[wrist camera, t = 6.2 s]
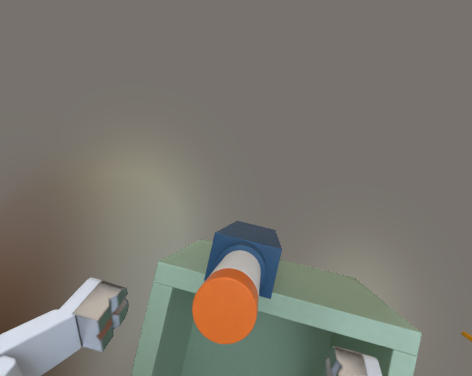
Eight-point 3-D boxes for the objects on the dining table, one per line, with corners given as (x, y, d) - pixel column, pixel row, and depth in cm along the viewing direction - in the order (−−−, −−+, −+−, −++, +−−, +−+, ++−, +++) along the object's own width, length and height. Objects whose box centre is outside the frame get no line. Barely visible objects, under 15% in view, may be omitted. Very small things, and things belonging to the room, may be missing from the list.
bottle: (274, 373, 9) (294, 283, 10) (156, 337, 10) (176, 252, 10) (269, 258, 30) (275, 230, 30) (230, 248, 30) (236, 220, 30)
